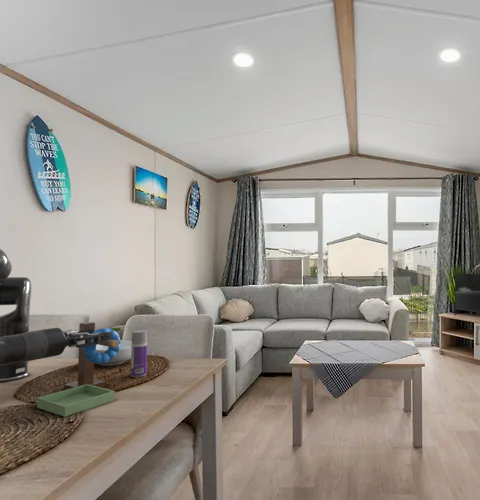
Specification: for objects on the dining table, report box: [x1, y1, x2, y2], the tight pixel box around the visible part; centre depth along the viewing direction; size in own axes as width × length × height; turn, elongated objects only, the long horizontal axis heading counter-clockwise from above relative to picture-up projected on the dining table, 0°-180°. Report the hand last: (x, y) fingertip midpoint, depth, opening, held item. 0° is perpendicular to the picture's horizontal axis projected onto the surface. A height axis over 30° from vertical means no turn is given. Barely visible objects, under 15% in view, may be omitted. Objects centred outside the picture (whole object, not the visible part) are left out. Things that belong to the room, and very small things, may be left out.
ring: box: [83, 327, 121, 365], centre depth 118 cm, size 3×11×10 cm, turn 154°
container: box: [130, 329, 148, 378], centre depth 135 cm, size 5×5×15 cm
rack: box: [63, 321, 119, 390], centre depth 120 cm, size 18×8×20 cm, turn 64°
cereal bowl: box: [96, 339, 132, 367], centre depth 149 cm, size 17×17×7 cm
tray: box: [36, 384, 116, 418], centre depth 108 cm, size 13×13×3 cm
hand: (101, 333), depth 118 cm, fingers open, 8 cm apart
